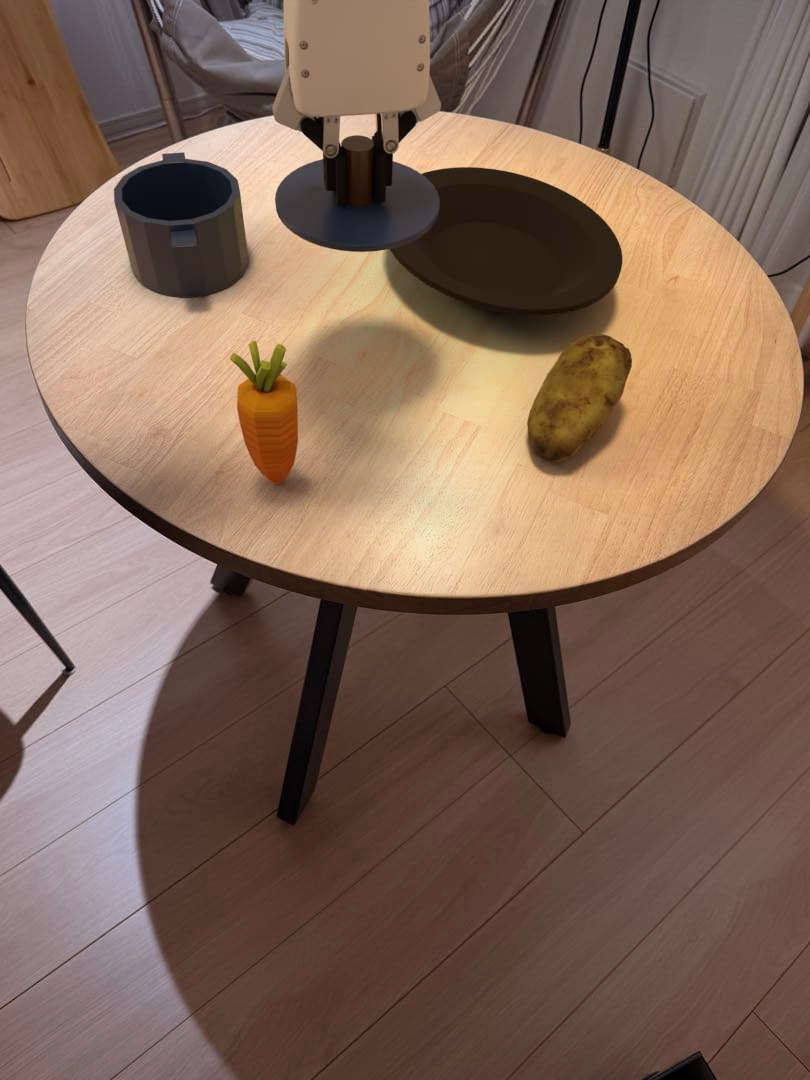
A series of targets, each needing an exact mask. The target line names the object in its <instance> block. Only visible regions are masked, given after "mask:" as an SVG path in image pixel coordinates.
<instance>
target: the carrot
mask: <svg viewBox="0 0 810 1080" xmlns="http://www.w3.org/2000/svg"><path fill="white" fill-rule="evenodd" d="M248 348H249V352H250V356H251V360H252V361H251V362H252V365H253V369H254V371H255V372H254V371H253V369H252V367H251V366H250V365H249V364H248V362H247V361H246V360H245V359H244V358H242V356H240V355H239V354H237V353H235V352H233V353H231V355H230V357H229V360H230V361H231V362H232V363H233V364H234V365H236V366H237V367H238V369H240V371H241V372H242V373H243V374H244V375H245V376H246V377H247V379H245V380H244V381H243V382H241V383H239V384H238V385H237V397H236V411H237V416H238V421H239V425H240V429H241V430H240V431H241V433H242V437H243V438H242V439H243V443H244V445H245V447H246V449H247V452H248V454H249V456H250V459H251V460H252V462H253V465H254V466H255V467H256V469H257V470H258V471H259V472H260V474H261V475H262V476H264V477H265V479H267V480H268V481H269V482H270V483H272V484H273V485H280V484H282V483H283V482H284V481H285V480H286V478H287V477H288V476H289V474H290V473H291V471H292V469H293V467H294V465H295V461H296V457H297V451H298V445H299V415H298V414H299V413H298V409H299V408H298V390H297V386H296V384H295V382H293V381H291V380H290V379H288V378H287V377H284V376H283V375H281V374H282V373H283V371H284V370H285V369H286V367H287V366H288V363H287V362H285V361H283V360H284V358H285V355H286V351H287V348H286V347H285V346H284V345H283V344H281V343H277V344H276V345H275V347H274V350H273V352H272V355H271V358H270V361H267V360H261V358H260V351H259V347H258V343H257V341H256V340H252V341H250V343H249V344H248Z"/></svg>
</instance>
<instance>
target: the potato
mask: <svg viewBox="0 0 810 1080" xmlns="http://www.w3.org/2000/svg"><path fill="white" fill-rule="evenodd" d="M632 368H633V358H632V353H631V351H630V348H628V347H626V346H625V344H624V343H622V342H620V341H619V340H617V339H615V338H613V337H612V336H610V335H607V334H598V333H588V334H585V335H582V336H581V337H579V338H576V339H575V340H574V341H572V342H571V343H570V344H569V345H568V346H567V347H566V348H565V349H564V350H563V351H562V352H561V353H560V355H559V356H558V357H557V360H556V361H555V362H554V364H553V365H552V367H551V369H550V370H549V371H548V372H547V374H546V376H545V379H544V381H543V382H542V384H541V386H540V387H539V390H538V392H537V394H536V396H535V398H534V400H533V403H532V405H531V407H530V410H529V413H528V417H527V424H526V427H527V434H528V439H529V443H530V447H531V449H532V451H533V454H534V455H536V456H537V457H539V458H540V459H542V460H543V461H545V462H548V463H560V462H563V461H565V460H568V459H571V458H572V457H573V456H575V455H576V454H577V453H578V452H580V449H581V447H582V446H583V444H584V443H586V442H587V441H588V440H589V439H591V438H592V437H594V436H595V434H596V433H597V431H598V430H599V429H600V428H602V426H603V423H604V422H605V421H606V419H607V418H608V417H609V415H610V414H611V413H612V412H613V410H614V409H615V407H616V405H617V404H618V403H619V401H620V399H621V398H622V396H623V395H624V391H625V387H626V383H627V380H628V378H629V375H630V373H631V370H632Z"/></svg>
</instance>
